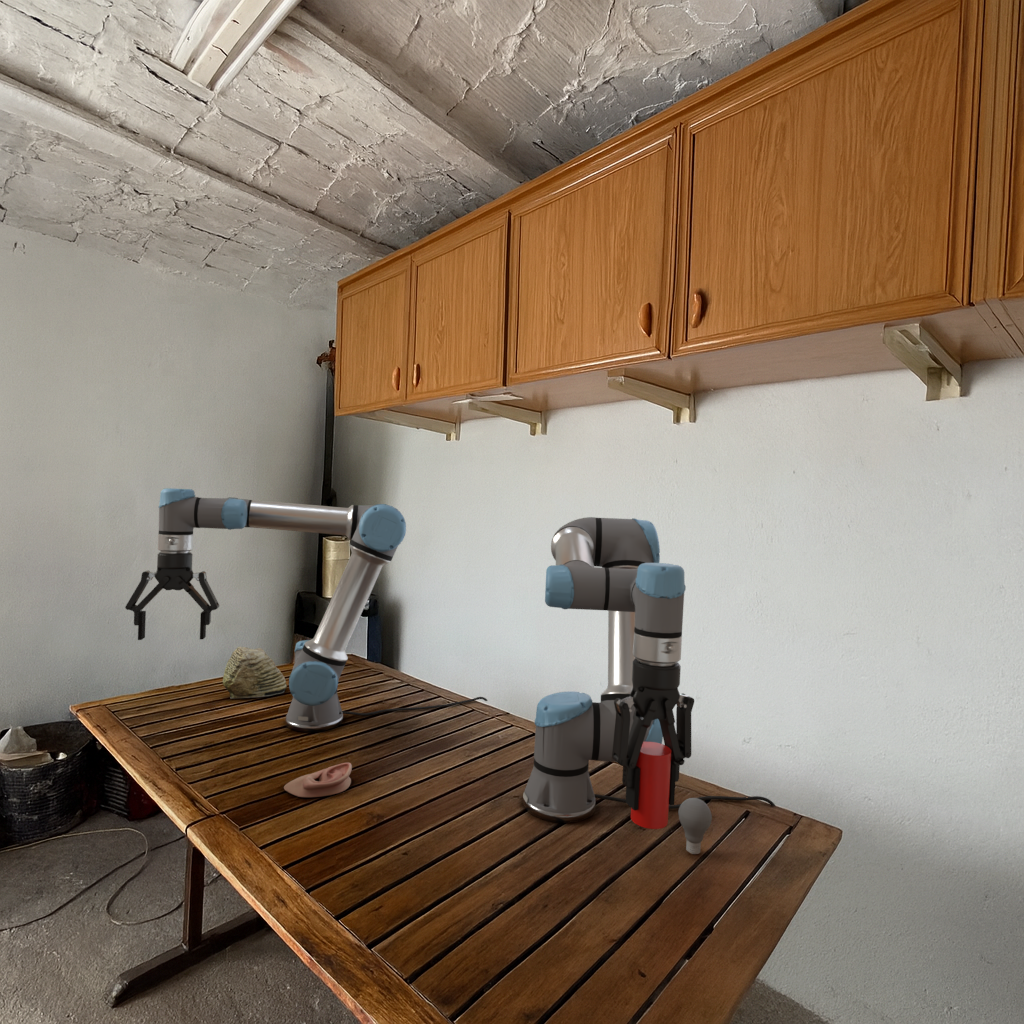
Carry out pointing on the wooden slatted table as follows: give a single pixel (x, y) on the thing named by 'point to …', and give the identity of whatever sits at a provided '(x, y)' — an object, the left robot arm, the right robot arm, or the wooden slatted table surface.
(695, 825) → the light bulb
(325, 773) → the anatomical model
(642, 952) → the wooden slatted table surface
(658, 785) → the red cylinder
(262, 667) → the fossil
